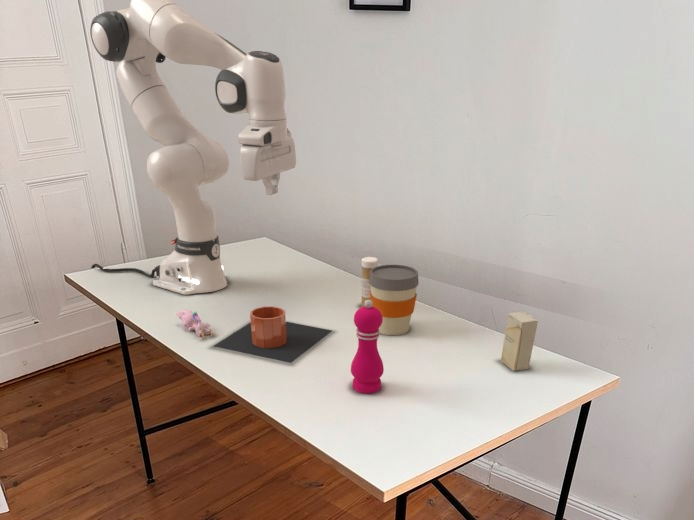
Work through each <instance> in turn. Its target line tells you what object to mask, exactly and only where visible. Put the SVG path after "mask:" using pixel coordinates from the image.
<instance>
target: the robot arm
mask: <svg viewBox="0 0 694 520" xmlns="http://www.w3.org/2000/svg"><path fill="white" fill-rule="evenodd" d="M90 23H91V24H90V39H91V43H92V45H93V48H94V49H95V51H96V52H97V53H98V55H99V56H100V58H102V59H103V60H105V61H107V62H113V63H114V62H115V63H118V65H117V67H116V72H115V73H116V79H117V81H118V84H119V87H120V89H121V91H122V94H123V95H124V98H125V99H126V101H127V104H128V106H129V107H130V108H131V110H132V112H133V114H134V115H135V117H136V119H137V120H138V122H139V124H140V125H141V127H142V128H143V130H144V132H145V134H146V135H147V136H148V137H149V138H150V139H151V140H153V141H155V142H158V143H160V144H162V145H163V146H162V147H161V148H158V149H156V150H155V151H153V152H151V153H150V154H149V155H148V157H147V160H146V171H147V175H148V178H149V180H150V181H151V183H152V184H153V185H154V186H155V187H156V188H157V189H158V190H159V191H161V192H162V193H163V194H164V195H165V196H166V198H167V200H168V201H169V203H170V205H171V208H172V210H173V214H174V219H175V226H176V232H177V237H176V238H175V239H172V240H170V242H171V245H175V246H174V250H173V251H172V252H171V253H170V254H169V255H167V256H166V257H165V258H164V259H163V260H162V261H161V262H160V264H159V265H157V266H155V267H154V268H153V269H151V274H148V273H147V272H145V271H143V270H142V269H140V268H135V267H127V268H126V267H121V268H106V269H103V268H104V267H103V266H102V265H100V264H98V263H94V264H92V265H91V267H90V269H95V268H98V269H100V270H101V271H104V272H108V273H109V272H110V273H117V272H120V273H121V272H136V273H137V272H138V273H140V274H141V275H143V276H145V277H148V278H153V277H155V274H156V277H155V278H154V279H153V281H152V285H153V286H155V287H158V288H162V289H164V290H168V291H172V292H174V293H177V294H181V295H185V296H188V295H189V296H190V295H194V294H206V293H212V292H216V291H220V290H223V289H224V288H226V287H227V286H228V281H227V278H226V275H225V272H224V266H223V264H222V261H221V246H220V238H219V235H218V233H217V232H218V231H217V223H216V212H215V209H214V207H213V206H212V205H211V204H210V203H209V202H207V201H205V200H204V199H203V198H202V196H201V193H200V190H199V187H200V186H202V185H207V184H210V183H214V182H215V181H218V180H219V179H221V178H222V177H224V176H226V174H227V173H228V170H229V167H230V166H229V165H230V163H229V162H230V161H229V156H228V155H229V154H228V153H227V151H226V149H225V147H224V146H223V145H222V144H221V143H220V142H218V141H216V140H213V139H211V138H209V137H208V136H207V135H205V134H204V133H203V132H202V131H201V130H200V129H198V128H197V127H196V126H195V125H194V124H193V123H192V122H191V121H190V120H189V119H188V117H186V116H185V114H184V113H183V112H182V110H181V108H180V107H179V105H178V104H177V102H176V101H175V99H174V98H173V96H172V94H171V92H170V91H169V90H168V88H167V85H166V84H165V83H164V81H163V80H162V78H161V77H160V75H159V73H158V70H157V64H163V63H164V62H165V61H166V59H169V60H171V61H173V62H175V63H177V64H180V65H194V66H206V67H212V68H215V69H216V68H217V69H219V70H221V71H219V72H218V74H217V76H216V79H215V82H214V92H215V97H216V100H217V103H218V105H219V106H220V107H221V109H223V110H224V111H225V112H226V113H229V114H233V115H239V114H247V115H248V124H247V125H245V127H244V129H242V130H241V131H240V132H239V134H238V136H237V141H238V144H239V145H241V146H240V150H239V156H240V157H239V158H240V168H241V169H240V170H241V175H242V177H243V179H244V180H245V181H250V182H257V181H262V183H263V185H264V187H265V195H267V196H273V195H275V194H278V192H279V188H278V186H279V183H280V179H281V173H284V172H286V171H290V170H292V169H295V167H296V164H297V154H296V146H295V140H294V138H293V136H292V133H291V131H290V130H289V128H288V123H287V114H286V110H285V102H286V83H285V74H284V73H285V72H284V67H283V63H282V61H281V58H280V57H279V56H277V55H276V54H274V53H273V52H269V51H262V50H252V51H249V52H248V53H246V52H245V51H243V50H242V49H241V48H239V47H238V46H236V45H235V44H234V43H232V42H230V41H229V40H228V39H226V38H224V37H223V36H221V35H219V34H218V33H216V32H215V31H213V30H212V29H210V28H209V27H207V26H206V25H204V24H203V23H201V22H200V21H198V20H197V19H196V18H195V17H193V16H192V15H190V14H189V13H188V12H187V11H185V10H184V8H182V7H181V6H180V5H178V4H177V3H176V2H175V1H173V0H130V2H129V7H126V8H123V9H117V10H112V11H111V10H110V11H104V12H101V13H99V14H97V15H96V16H94V17H93V19H92V20H91V22H90Z"/></svg>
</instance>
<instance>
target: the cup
mask: <svg viewBox="0 0 694 520" xmlns="http://www.w3.org/2000/svg"><path fill="white" fill-rule="evenodd" d="M249 317H250V318H249V319H250V323H251V332H252V343H253V344H254V345H255V346H257V347H261V348H276V347H280V346H283V345H284V344H285V343H287V336H286V322H287V318H286V317H287V316H286V310H285V309H284V308H282V307H278V306H270V305H269V306H260V307H259V306H258V307H255V308H253V309H252V310H251V311H249Z"/></svg>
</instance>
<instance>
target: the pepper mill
mask: <svg viewBox="0 0 694 520" xmlns="http://www.w3.org/2000/svg"><path fill="white" fill-rule="evenodd" d="M364 305H365V306H363V307H362V306H361V307H359V308H358V309H357V310H356V311H355V313H354V315H353V323H354V325H355V327H356V330H355V332H356V333H355V336H356V338H357V339H358V344H357V350H356V353H355V355H354V357H353V359H352V361H351V365H350V374H351V375H352V377H353V378H352V389H353V390H354V391H355V392H356V393H359V394H374V393H377V392H379V391H380V390H381V388H382V379H381V377H382V376H383V375H384V372H385V371H384V362H383V359H382V357H381V355H380V352H379V350H378V339H379V338H380V334H381V333H379V332H380V330H379V327H380V326H381V324H382V314H381V312H380V311H379V310H378V309H377V308H375V307H373V302H372V301H371V300H366V301H365V303H364Z"/></svg>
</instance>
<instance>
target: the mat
mask: <svg viewBox="0 0 694 520" xmlns="http://www.w3.org/2000/svg"><path fill="white" fill-rule="evenodd" d="M332 332H333V330H331V329H327V328H321V327H317V326H311V325H306V324H300V323H296V322H295V323H294V322H290V321H286V336H287V343H285V344H284V345H283V346H280V347H276V348H261V347H257V346H255V345H254V344H253V343H252V332H251V322H249V323H247V324H246V325H244V326H243V327H241V328H239V329H238V330H236V331H235V332H233V333H231V334H230V335H228V336H227V337H225V338H223V339H222V340H220V341H219V342H217V343H215V344H214V345H213V348H219V349H224V350H228V351H232V352H237V353H242V354H247V355H251V356H255V357H260V358H265V359H270V360H275V361H279V362H284V363H289V364H293V362H294V361H296V360H297V359H298V358H299V357H301V356H302V355H304V354H305V353H306V352H307V351H309V350H310V349H311V348H312V347H313V346H315V345H316V344H317V343H319V342H321V340H323V339H324V338H325V337H326V336H328V335H330V333H332Z"/></svg>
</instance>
